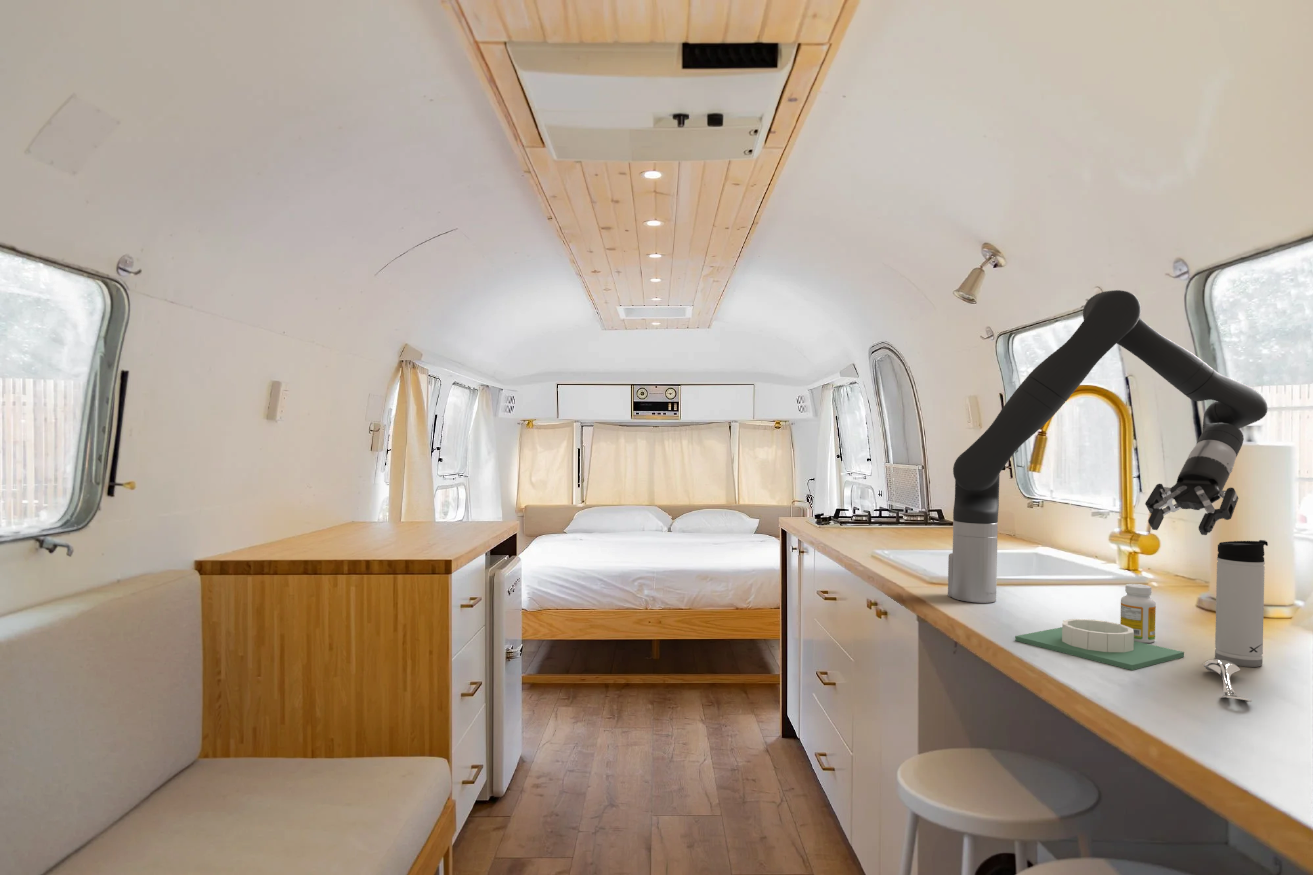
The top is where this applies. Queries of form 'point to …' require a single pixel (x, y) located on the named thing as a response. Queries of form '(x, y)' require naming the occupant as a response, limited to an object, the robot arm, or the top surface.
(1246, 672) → the top surface
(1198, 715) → the top surface
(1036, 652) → the top surface
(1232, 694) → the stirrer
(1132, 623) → the supplement bottle
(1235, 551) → the travel mug
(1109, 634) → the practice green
